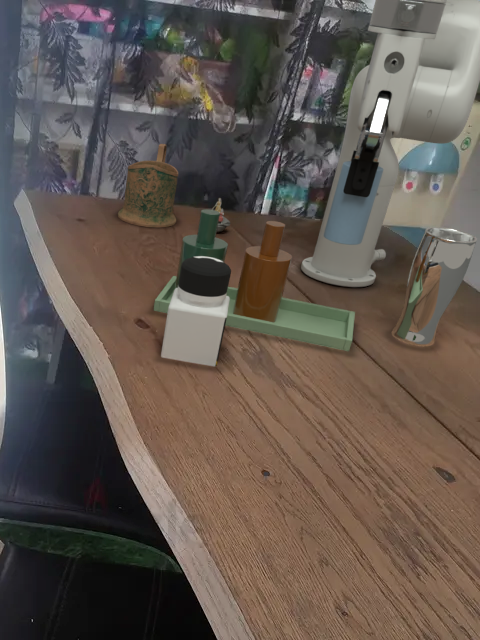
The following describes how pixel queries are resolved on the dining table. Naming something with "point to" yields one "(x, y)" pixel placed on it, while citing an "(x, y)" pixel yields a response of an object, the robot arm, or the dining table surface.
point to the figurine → (221, 217)
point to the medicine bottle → (198, 312)
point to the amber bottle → (263, 276)
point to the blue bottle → (350, 211)
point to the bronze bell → (150, 192)
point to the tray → (287, 320)
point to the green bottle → (203, 241)
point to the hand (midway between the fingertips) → (356, 188)
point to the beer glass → (433, 283)
